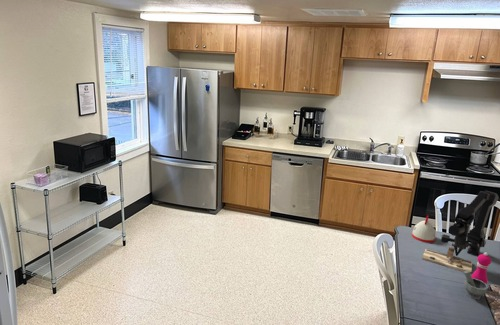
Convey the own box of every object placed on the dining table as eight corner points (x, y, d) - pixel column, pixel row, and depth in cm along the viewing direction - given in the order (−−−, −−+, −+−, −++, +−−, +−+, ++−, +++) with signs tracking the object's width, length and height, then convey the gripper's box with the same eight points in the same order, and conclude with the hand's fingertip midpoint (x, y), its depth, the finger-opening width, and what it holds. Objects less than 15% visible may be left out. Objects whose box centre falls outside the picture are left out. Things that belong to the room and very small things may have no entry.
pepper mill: (487, 291, 185) (497, 257, 180) (472, 289, 187) (481, 255, 181) (482, 283, 192) (490, 250, 187) (467, 281, 194) (475, 248, 188)
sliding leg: (447, 253, 217) (449, 246, 216) (453, 255, 215) (454, 248, 214) (445, 261, 208) (447, 254, 207) (451, 263, 207) (453, 255, 205)
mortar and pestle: (485, 294, 183) (491, 274, 180) (483, 304, 176) (489, 282, 172) (460, 286, 189) (465, 265, 186) (457, 294, 182) (462, 273, 179)
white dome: (435, 236, 242) (440, 215, 238) (433, 244, 231) (437, 223, 227) (413, 230, 249) (417, 210, 245) (410, 238, 238) (414, 217, 234)
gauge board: (425, 249, 224) (426, 246, 223) (472, 263, 211) (473, 260, 210) (422, 259, 214) (422, 255, 213) (470, 273, 201) (471, 270, 200)
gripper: (442, 231, 205) (437, 256, 209) (480, 241, 195) (474, 267, 200) (444, 224, 214) (439, 248, 218) (481, 234, 204) (475, 258, 209)
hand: (456, 255), depth 211 cm, fingers closed
